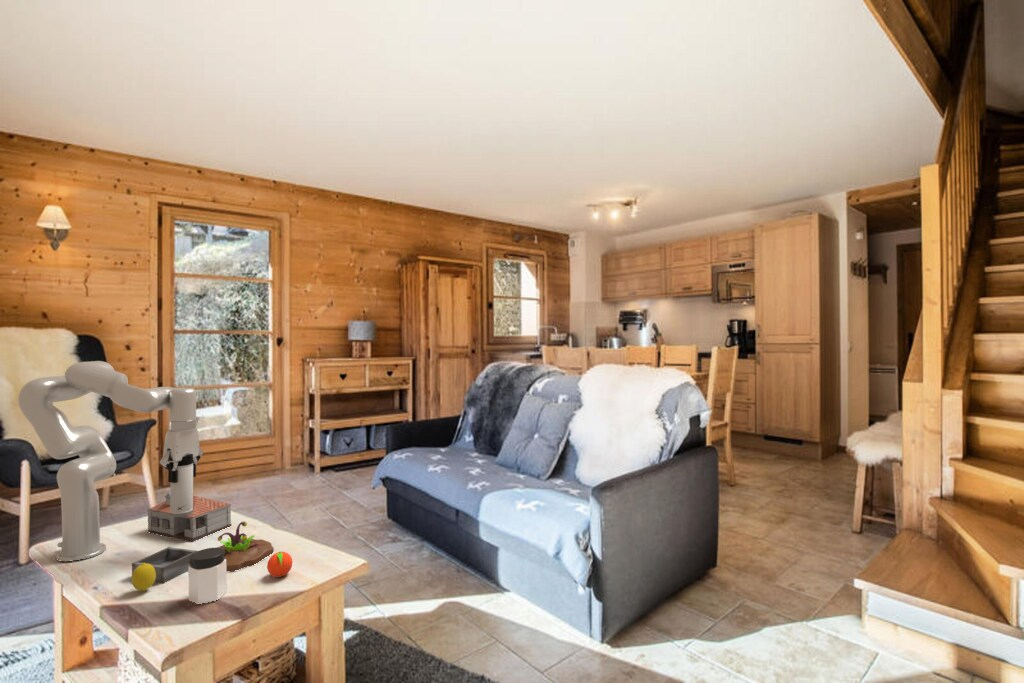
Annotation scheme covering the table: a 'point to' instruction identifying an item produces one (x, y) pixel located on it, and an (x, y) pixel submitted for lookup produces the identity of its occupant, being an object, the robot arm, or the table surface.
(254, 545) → the plant
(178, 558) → the grey tray
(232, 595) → the table surface
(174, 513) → the travel mug
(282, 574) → the clementine
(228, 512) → the model house
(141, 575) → the lemon
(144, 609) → the table surface
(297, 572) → the table surface
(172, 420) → the robot arm
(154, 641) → the table surface
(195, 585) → the jar
